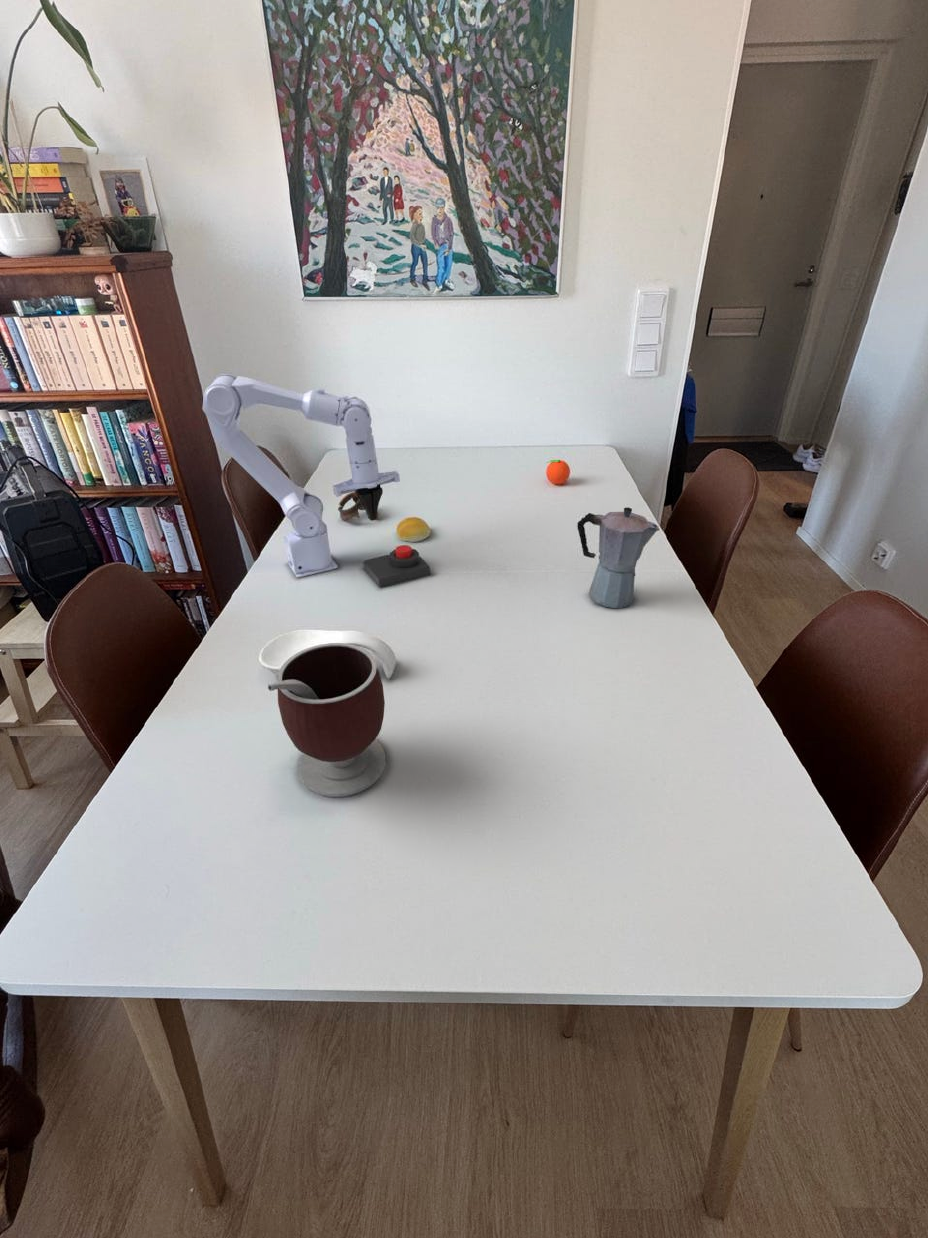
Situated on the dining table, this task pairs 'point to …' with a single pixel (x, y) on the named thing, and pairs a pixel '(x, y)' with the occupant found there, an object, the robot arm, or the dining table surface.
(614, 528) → the moka pot
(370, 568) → the push button base
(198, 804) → the dining table surface
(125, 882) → the dining table surface
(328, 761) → the mate gourd
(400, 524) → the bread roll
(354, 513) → the brown looped frame
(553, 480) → the clementine
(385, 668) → the spoon rest
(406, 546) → the power button
